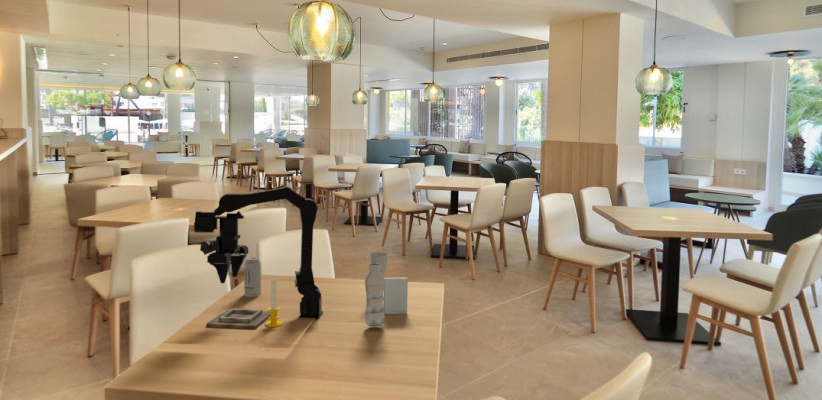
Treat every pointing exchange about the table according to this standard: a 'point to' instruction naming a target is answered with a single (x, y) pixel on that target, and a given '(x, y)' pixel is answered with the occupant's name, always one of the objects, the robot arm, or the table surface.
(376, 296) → the plastic bottle
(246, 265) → the energy drink can
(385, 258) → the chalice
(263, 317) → the socket board
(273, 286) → the candle
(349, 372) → the table surface
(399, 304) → the external hard drive
